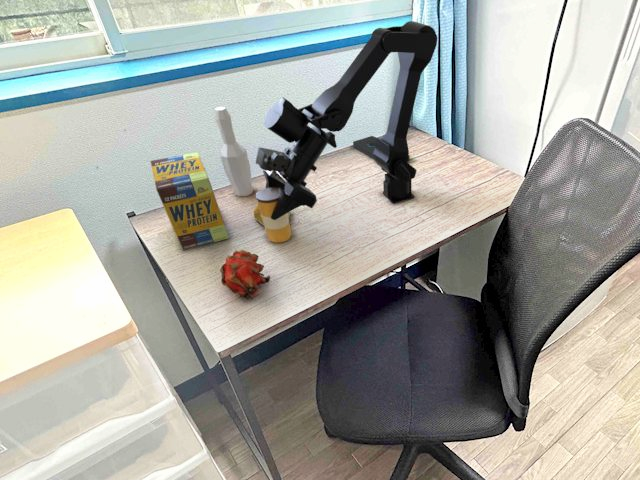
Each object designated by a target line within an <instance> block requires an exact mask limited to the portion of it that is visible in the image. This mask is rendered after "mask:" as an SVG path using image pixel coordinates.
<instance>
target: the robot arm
mask: <svg viewBox="0 0 640 480" xmlns="http://www.w3.org/2000/svg"><path fill="white" fill-rule="evenodd" d="M437 44H438V35H437V33H436V31H435V29H434V27H432V26H431V25H429V24H428V25H427V24H424V23H421V22H418V21H414V20H409V21H406V22H405V23H404V24H403V25H401V26H399V25H398V26H397V25H396V26H389V27H378V28H376V29H374V30H373V31H372V33H371V35H370V37H369V39H368V41H367V42H366V43H365V45H364V46H363V48H362V49H361V50H360V51H359V52H358V54H357V56H356V57H355V58H354V59H353V61H352V62H351V64H350V65H348V66H349V67H347V69H346V70H345V72H344V73H343V74H342V76H341V77H340V79H339V80H338V81H336V83H335V84H334V85H332V86H330V87H328V88H327V89H325V90H324V91H322V93H321V94H320V95H319V96H318V97H317V98H315V100H314V101H313V103H311V104H307V105H305V106H303V107H300V108H297V107H296V106H295V105H294V104H293V103H292V102H290V101H289V100H288V99H286V98H285V97H281V99H280V100H279V101H277V102H276V103H274V104H273V105H272V106H271V107H269V108H268V109H267V111H266V113H265V116H264V121H263V125H264V127H265V128H266V129H267V130H269V131H271V132H272V133H273V134H275V135H276V136H278V137H280V138H281V139H282V140H284V141H285V142H287V143H289V144H290V143H291V144H292V143H293V145H292V146H291V148H290V147H289V146H287V147H285V148H284V149H283V151H278V150H275V149H270V148H264V147H258V148H257V153H256V158H255V164H257V165H258V166H259V167H260V169H261V170H262V173H263V175H264V178H265V181H266V182H265V188H270V187H275V188H279V192H280V198H279V200H278V202H277V204H276V207H275V209H274V211H273V213H272V215H271V219H273V220H276V219H278V218H280V217H281V216H283V215H285V214H286V213H288V212H290V213H291V212H292V211H294V210H295V209H298V208H300V207H301V206H302V207H305V206H306V207H307V208H309V209H313V208H314V206H315V205H316V203H317V202H318V199H317V195H316V194H315V193H314V192H313V191H312V190H311V189H310V188H308V187H306V186H307V184H308V183H307V182H306V181H305V180H306V179H307V177H308V175H309V174H310V172H311V171H313V172H316V170H317V169H318V167H317V166H316V165H315V164H316V163H317V161H318V160H319V158H320V156H321V155H322V154H323V151H325V149H326V147H327V146H328V145H329V146H331V147H332V148H333V149H336V148H338V147H337V146H338V145H337V141H336V134H334V133H335V132H340V131H342V130H343V129H344V128H345V127H346V125H347V123H348V121H349V119H350V118H351V116H352V114H353V111H354V106H355V102H356V100H357V98H358V97H359V96H360V95H361V93H362V92H363V90H364V89H365V88H366V86H367V85H368V84H369V82H370V81H371V79H373V77H374V75H375V74H376V73H377V71H378V70H379V69H380V68H381V66H382V65H383V64H384V62H385V61H386V59H387V58H388V56H389V55H390V54H391V53H397V56H398V63H399V71H398V75H397V80H396V86H395V90H394V96H393V99H392V100H393V101H392V105H391V110H390V114H389V119H388V124H387V129H386V132H385V134H384V135H383V136H382V137H381V138H379V137H376V138H377V139H376V146H375V150H374V152H373V154H374V155H375V160H374V162H375V163H376V165H377V166H378V167H380V169H381V171H383V172H384V180H383V182H382V183H383V184H382V186H383V191H382V194H383V196H385V198H387V200H388V201H390V202H391V204H398V203H400V202H401V203H402V202H405V201H409V200H412V199H415V194H413V193H412V180H413V179H415V178H416V174H417V169H416V168H415V167H413V166H412V164H410V163H409V162H408V156H410V150H409V144H408V138H407V137H408V133H409V129H410V125H411V120H412V116H413V111H414V108H415V103H416V99H417V94H418V90H419V86H420V81H421V76H422V73H423V71H424V70H425V69H426V68H427V67H428V66H429V64H430V63H431V61H432V59H433V56H434V53H435V50H436V48H437V46H438V45H437ZM309 124H311V125H312V126H309ZM323 129H324V130H323ZM325 129H326V130H327V131H328V132H326V131H325Z"/></svg>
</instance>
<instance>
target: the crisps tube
mask: <svg viewBox="0 0 640 480" xmlns="http://www.w3.org/2000/svg"><path fill="white" fill-rule="evenodd" d="M279 198H280V192H279V188H275V187H270V188H266V187H265V188H262V189H259V190H258V191H256V194H255V199H256V201H257V205H259V208H260V212H261V217H262V220H263V224H264V226H263V227H264V229H265V230H264V231H265V234H266V238H267V240H268V241H269V242H272V243H283V242H286V241H289V239H291V237H292V229H291V225H290V218H289V219H288V214H287V213H286V214H285V215H283V216H281V217H280V218H278V219H276V220H273V219H271V215H272V213H273V211H274V209H275V207H276V204H277V202H278V200H279Z"/></svg>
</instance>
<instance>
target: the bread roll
mask: <svg viewBox="0 0 640 480" xmlns="http://www.w3.org/2000/svg"><path fill="white" fill-rule="evenodd" d="M287 214H288V219H289V220H290V217H291V211H290V212H288V213H287ZM253 218H254V219H255V220H256V221H257V222H259V224H260V225H262V226H263V227H264V224H263V220H262V217H261V212H260V208H259V205H258V204H257V205H256V206H255V207H254V210H253Z"/></svg>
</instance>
